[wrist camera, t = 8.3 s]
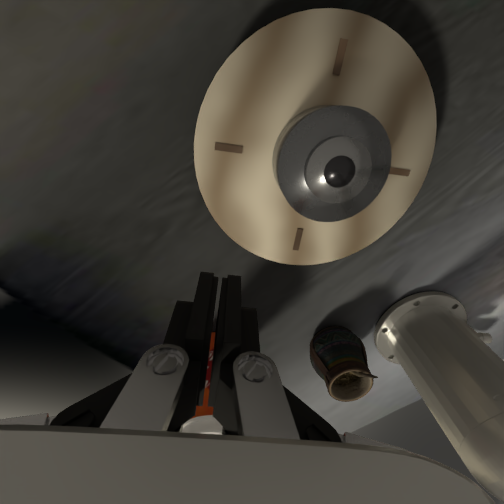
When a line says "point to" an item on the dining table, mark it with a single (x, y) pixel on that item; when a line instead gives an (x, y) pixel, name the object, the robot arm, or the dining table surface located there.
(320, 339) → the mate gourd
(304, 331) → the dining table surface
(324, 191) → the cover
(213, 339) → the paper cup
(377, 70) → the turntable
